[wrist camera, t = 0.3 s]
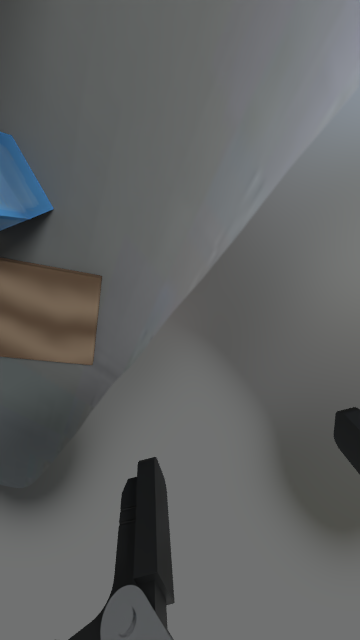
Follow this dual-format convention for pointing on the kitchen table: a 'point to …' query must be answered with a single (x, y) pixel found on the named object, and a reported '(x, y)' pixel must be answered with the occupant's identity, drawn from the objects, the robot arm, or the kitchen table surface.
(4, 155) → the perfume bottle
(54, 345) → the walnut board
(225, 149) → the kitchen table surface
